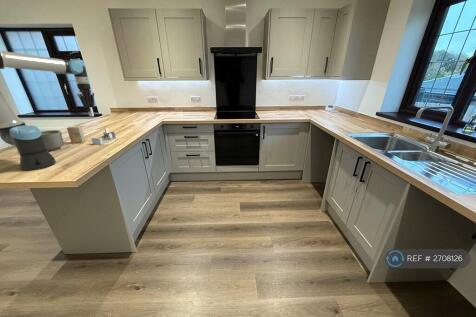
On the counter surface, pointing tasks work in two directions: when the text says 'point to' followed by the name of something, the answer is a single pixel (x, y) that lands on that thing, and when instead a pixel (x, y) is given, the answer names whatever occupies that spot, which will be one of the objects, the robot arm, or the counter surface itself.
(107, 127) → the marker sleeve
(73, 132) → the supplement box
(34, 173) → the counter surface
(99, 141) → the cord rig
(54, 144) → the planter
